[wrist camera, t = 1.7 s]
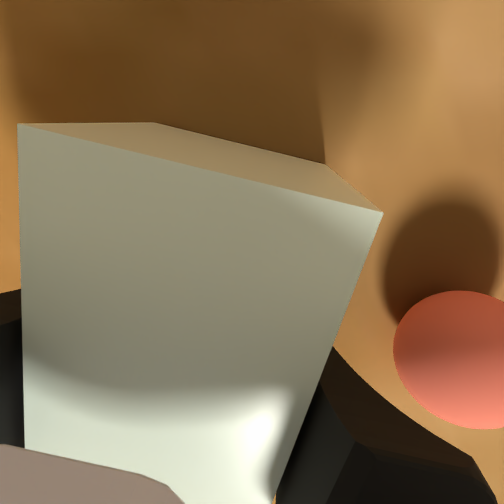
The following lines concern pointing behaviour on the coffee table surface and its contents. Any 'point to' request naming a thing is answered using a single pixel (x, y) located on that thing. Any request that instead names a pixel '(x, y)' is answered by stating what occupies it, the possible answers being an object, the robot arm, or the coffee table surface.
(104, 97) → the coffee table surface
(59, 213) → the pale green block
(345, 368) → the robot arm
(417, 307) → the ball
